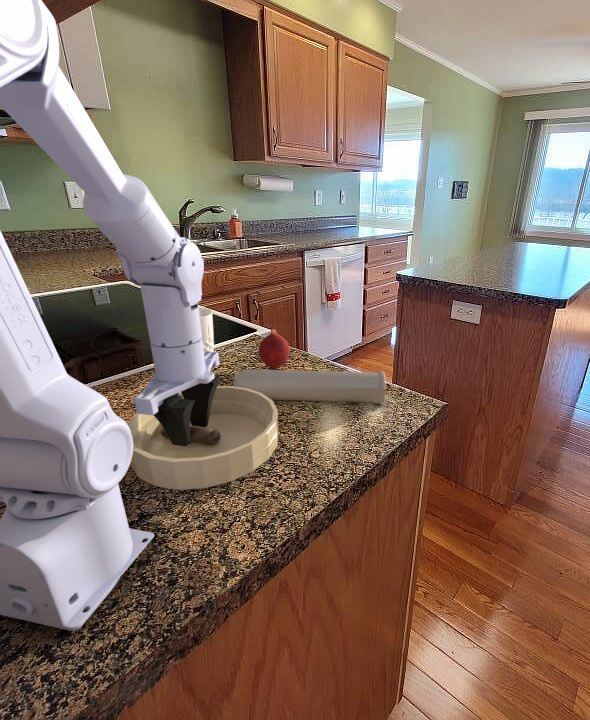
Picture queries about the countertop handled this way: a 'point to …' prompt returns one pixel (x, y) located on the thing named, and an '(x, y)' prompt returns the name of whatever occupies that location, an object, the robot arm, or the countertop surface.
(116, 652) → the countertop surface
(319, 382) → the tube
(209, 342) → the white cup
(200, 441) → the stick
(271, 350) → the onion
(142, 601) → the countertop surface
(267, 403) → the bowl
